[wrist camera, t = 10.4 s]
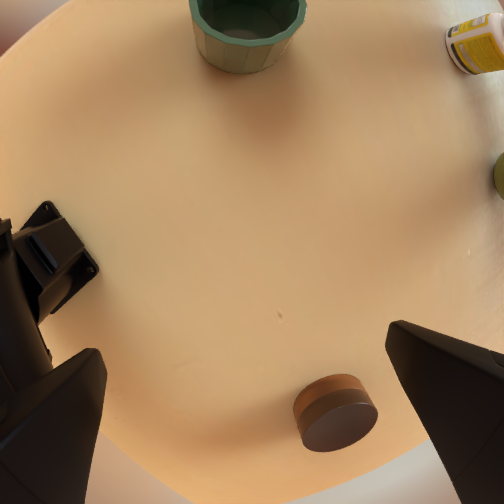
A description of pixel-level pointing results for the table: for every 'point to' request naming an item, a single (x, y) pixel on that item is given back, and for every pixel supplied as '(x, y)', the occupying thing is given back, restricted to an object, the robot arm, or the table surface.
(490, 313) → the table surface
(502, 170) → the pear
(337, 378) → the teak chip
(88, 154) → the table surface
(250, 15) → the plastic cup
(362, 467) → the table surface
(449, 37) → the supplement bottle
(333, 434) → the walnut chip
